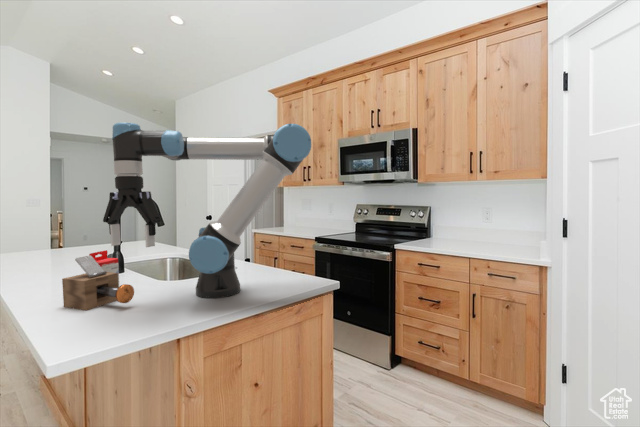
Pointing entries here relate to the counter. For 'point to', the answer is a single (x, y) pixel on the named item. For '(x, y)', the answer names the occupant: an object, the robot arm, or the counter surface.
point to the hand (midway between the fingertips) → (132, 246)
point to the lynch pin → (117, 292)
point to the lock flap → (90, 266)
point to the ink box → (106, 262)
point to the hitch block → (87, 290)
